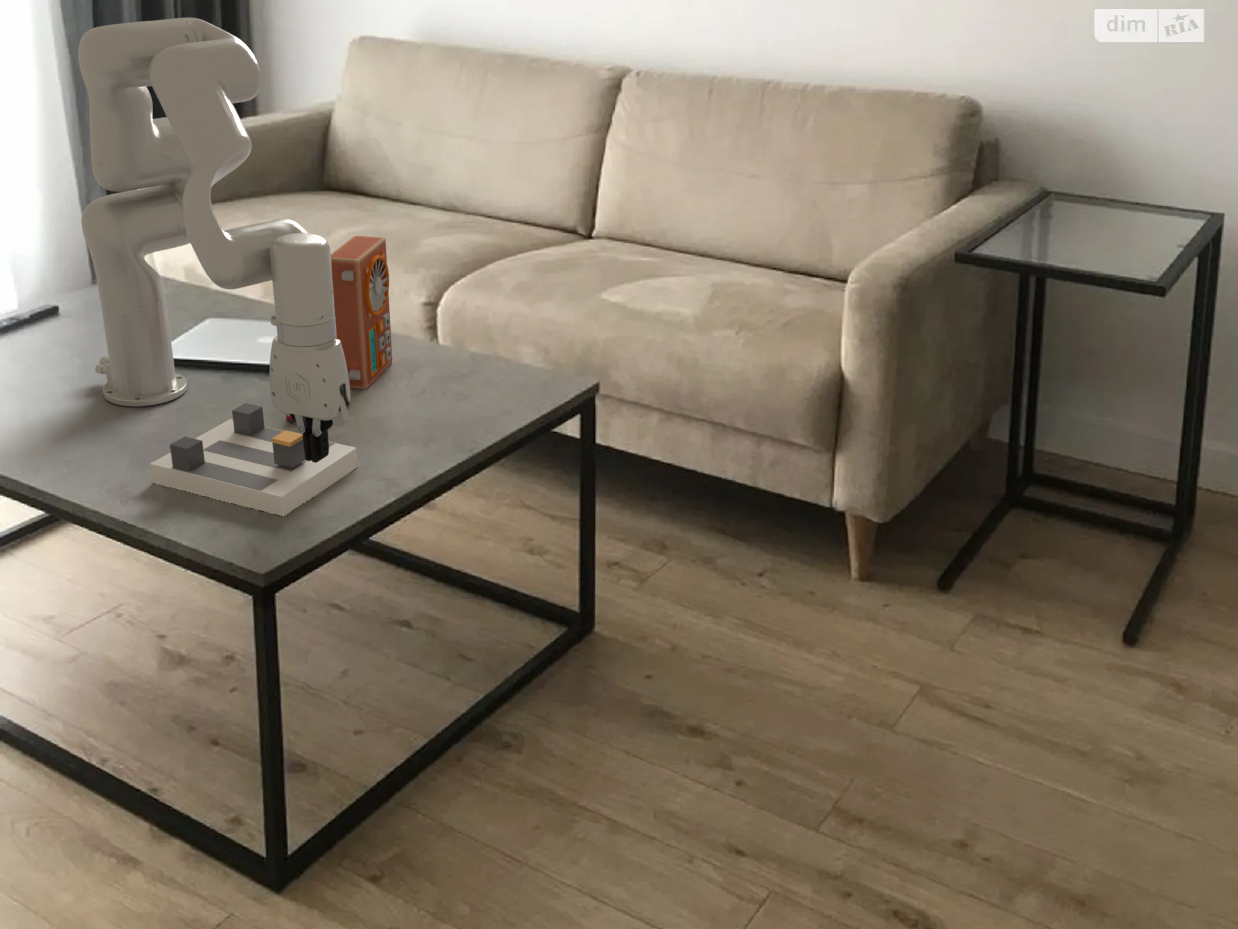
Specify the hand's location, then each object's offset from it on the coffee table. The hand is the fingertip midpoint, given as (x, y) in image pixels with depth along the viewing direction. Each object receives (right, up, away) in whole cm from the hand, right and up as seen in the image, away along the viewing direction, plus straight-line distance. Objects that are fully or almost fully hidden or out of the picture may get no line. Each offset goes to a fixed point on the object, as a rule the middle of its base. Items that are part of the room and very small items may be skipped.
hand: (317, 457), depth 193 cm
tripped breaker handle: (-4, -1, +2) cm, 5 cm away
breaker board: (-10, -2, +6) cm, 12 cm away
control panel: (-1, +14, +40) cm, 43 cm away
